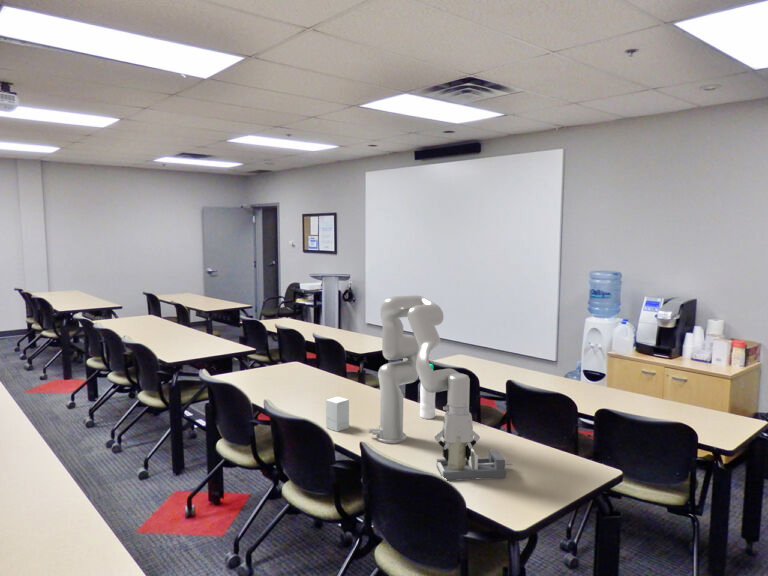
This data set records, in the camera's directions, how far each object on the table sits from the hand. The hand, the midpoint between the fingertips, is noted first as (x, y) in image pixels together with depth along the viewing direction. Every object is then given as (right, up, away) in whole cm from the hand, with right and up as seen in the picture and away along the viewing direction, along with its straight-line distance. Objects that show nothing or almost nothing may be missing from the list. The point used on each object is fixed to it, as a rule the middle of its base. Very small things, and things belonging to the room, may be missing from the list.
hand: (456, 458), depth 181 cm
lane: (+5, -5, +1) cm, 7 cm away
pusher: (+13, -4, +2) cm, 13 cm away
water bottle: (-5, 0, +59) cm, 59 cm away
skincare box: (0, -3, 0) cm, 4 cm away
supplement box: (-46, -1, +44) cm, 63 cm away
